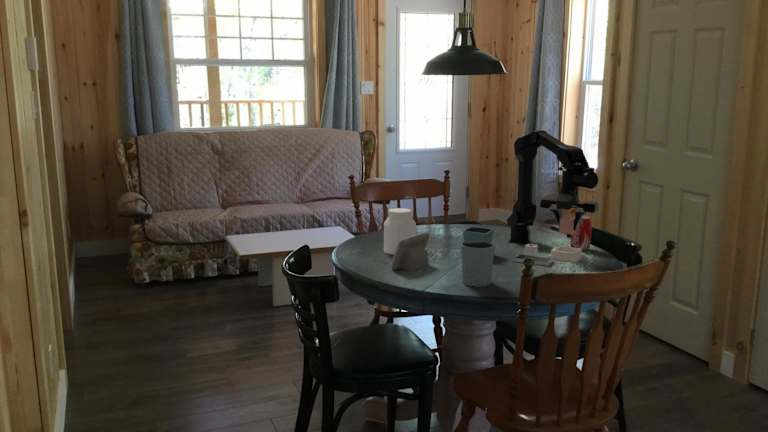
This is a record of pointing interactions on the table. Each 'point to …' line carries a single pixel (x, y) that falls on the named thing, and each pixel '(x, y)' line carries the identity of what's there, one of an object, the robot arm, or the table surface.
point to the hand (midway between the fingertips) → (567, 229)
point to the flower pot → (478, 234)
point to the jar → (397, 228)
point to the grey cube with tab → (531, 249)
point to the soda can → (582, 234)
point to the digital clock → (411, 252)
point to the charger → (567, 225)
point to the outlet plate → (566, 254)
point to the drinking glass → (477, 262)
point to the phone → (538, 260)
